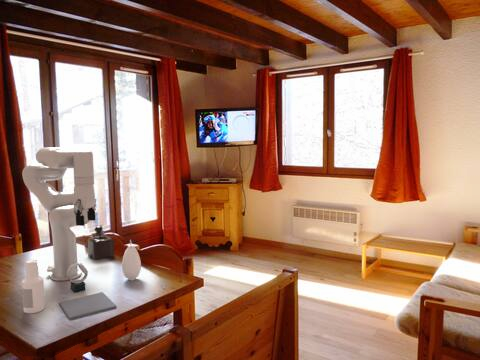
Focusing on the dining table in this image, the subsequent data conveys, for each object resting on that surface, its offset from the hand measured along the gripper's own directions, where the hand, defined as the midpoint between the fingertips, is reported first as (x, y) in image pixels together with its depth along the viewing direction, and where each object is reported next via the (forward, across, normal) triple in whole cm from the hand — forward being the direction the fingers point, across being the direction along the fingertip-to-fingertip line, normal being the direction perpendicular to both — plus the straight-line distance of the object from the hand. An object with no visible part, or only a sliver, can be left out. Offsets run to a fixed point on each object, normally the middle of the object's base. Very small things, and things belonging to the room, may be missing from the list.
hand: (86, 222), depth 160 cm
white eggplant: (+27, -10, +15) cm, 33 cm away
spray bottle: (+28, +22, -10) cm, 37 cm away
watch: (+27, +3, -3) cm, 28 cm away
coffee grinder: (+27, -41, -12) cm, 50 cm away
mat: (+27, +18, +8) cm, 34 cm away
